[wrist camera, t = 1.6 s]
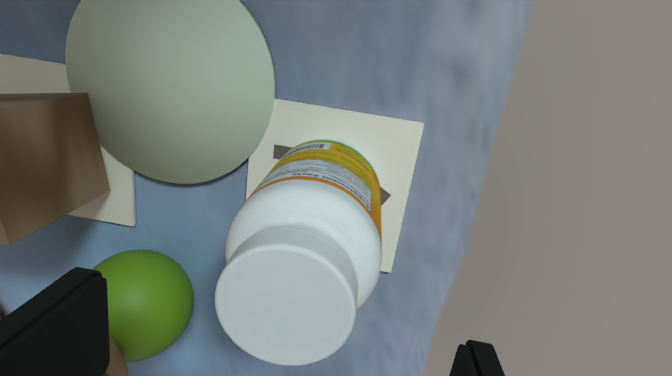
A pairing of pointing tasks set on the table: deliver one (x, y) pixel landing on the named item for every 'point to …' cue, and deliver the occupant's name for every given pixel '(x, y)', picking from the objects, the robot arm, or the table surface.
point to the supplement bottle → (302, 255)
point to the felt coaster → (173, 83)
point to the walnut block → (46, 160)
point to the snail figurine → (144, 305)
